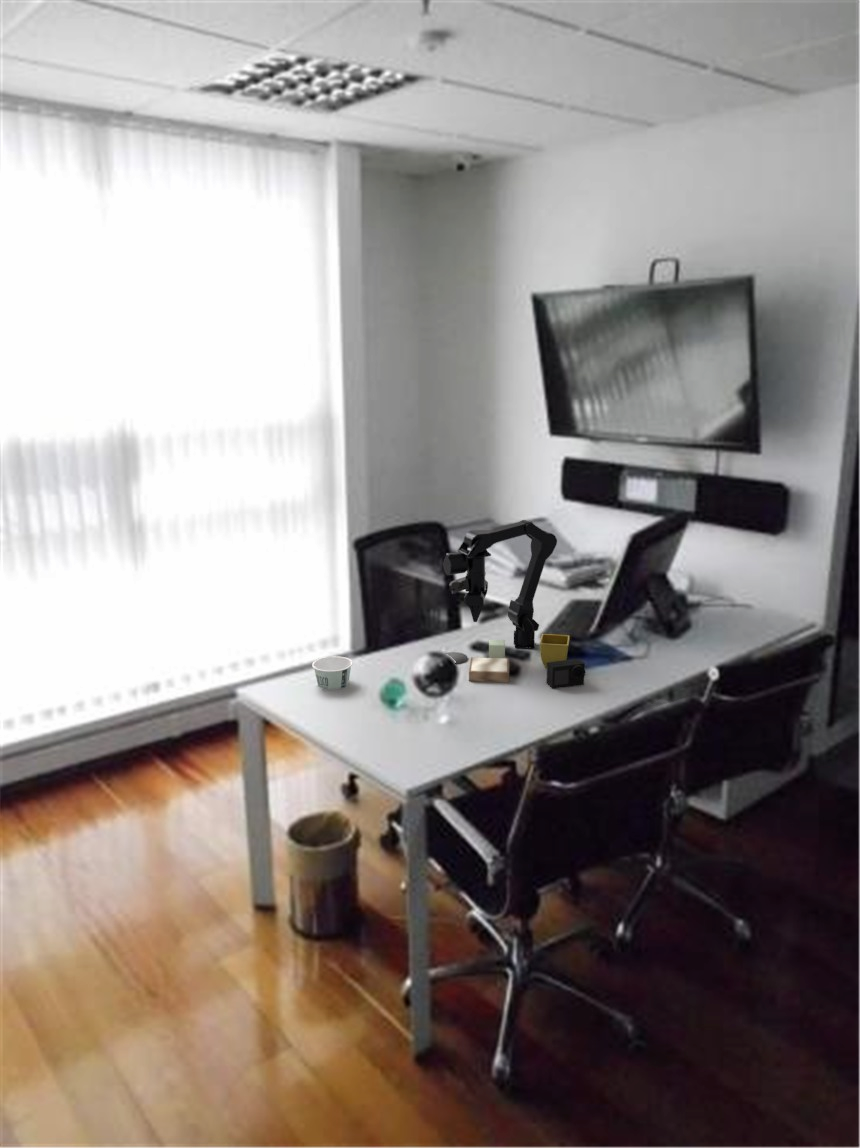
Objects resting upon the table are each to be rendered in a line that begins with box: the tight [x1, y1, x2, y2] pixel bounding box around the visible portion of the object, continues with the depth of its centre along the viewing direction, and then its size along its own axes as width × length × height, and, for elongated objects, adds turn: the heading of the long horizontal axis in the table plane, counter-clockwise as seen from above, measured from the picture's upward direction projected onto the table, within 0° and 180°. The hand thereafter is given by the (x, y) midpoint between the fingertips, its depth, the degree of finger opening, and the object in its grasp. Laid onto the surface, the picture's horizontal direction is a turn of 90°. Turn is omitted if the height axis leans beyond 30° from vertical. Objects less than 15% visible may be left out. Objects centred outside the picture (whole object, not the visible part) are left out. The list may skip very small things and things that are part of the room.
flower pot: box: [539, 633, 571, 669], centre depth 275 cm, size 9×9×9 cm
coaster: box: [444, 651, 468, 665], centre depth 283 cm, size 9×9×1 cm
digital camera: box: [546, 658, 587, 690], centre depth 261 cm, size 10×5×7 cm, turn 106°
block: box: [488, 639, 506, 658], centre depth 281 cm, size 5×5×6 cm
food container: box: [311, 655, 353, 690], centre depth 264 cm, size 12×12×6 cm
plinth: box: [468, 656, 510, 683], centre depth 270 cm, size 12×12×3 cm
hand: (476, 617), depth 284 cm, fingers open, 9 cm apart
